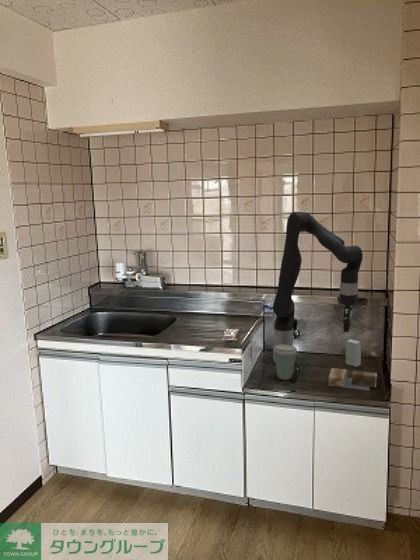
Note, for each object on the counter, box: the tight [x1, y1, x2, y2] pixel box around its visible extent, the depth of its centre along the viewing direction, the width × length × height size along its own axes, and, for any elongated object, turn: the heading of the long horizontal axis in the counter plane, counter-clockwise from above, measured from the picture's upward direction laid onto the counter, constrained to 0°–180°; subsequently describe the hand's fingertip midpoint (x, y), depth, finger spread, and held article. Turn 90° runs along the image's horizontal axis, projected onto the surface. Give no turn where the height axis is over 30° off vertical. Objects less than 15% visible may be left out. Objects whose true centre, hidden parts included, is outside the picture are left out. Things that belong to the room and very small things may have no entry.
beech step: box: [328, 367, 349, 388], centre depth 206 cm, size 7×11×4 cm, turn 159°
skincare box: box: [345, 338, 362, 368], centre depth 224 cm, size 6×4×12 cm
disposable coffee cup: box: [274, 344, 298, 381], centre depth 211 cm, size 11×11×15 cm
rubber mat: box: [345, 376, 371, 392], centre depth 203 cm, size 10×11×1 cm
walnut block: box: [351, 370, 378, 388], centre depth 202 cm, size 5×4×10 cm
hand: (347, 328), depth 200 cm, fingers open, 8 cm apart
